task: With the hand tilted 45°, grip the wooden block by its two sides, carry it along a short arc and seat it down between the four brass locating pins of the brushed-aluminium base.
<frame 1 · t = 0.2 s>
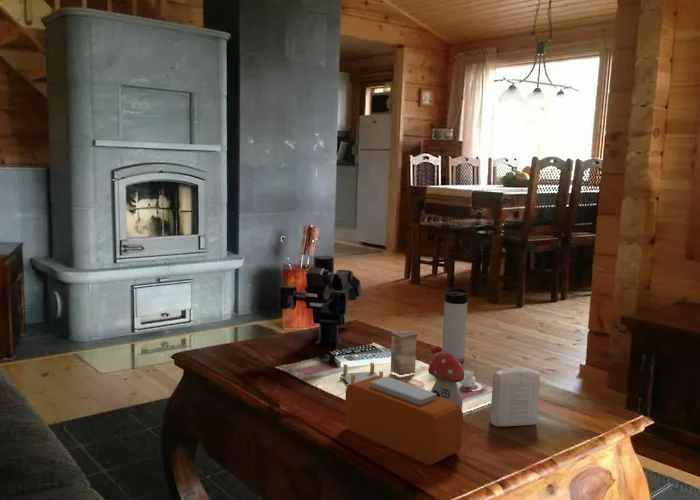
hand: (304, 307, 174), 17 cm above the table, tool horizontal, fingers open, 9 cm apart
decorative ornament: (443, 415, 147), on the table
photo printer: (513, 424, 144), on the table
travel mug: (453, 359, 188), on the table
teacup and saucer: (477, 388, 167), on the table
pin base: (362, 381, 168), on the table
alarm clock: (400, 442, 133), on the table
wooden block: (402, 374, 174), on the table
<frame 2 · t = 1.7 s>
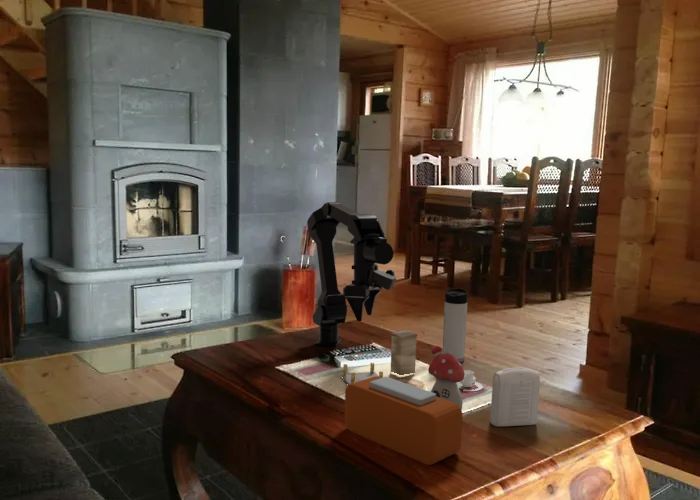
hand: (364, 318, 181), 13 cm above the table, tool pointing down, fingers open, 9 cm apart
nothing on the table moved.
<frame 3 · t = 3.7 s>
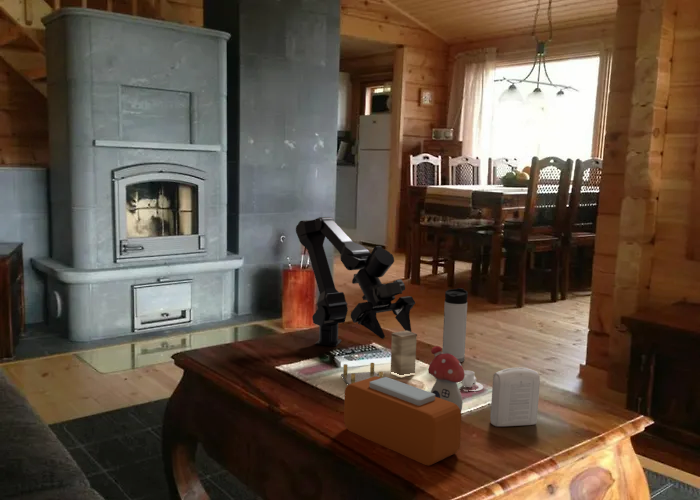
hand: (397, 335, 175), 10 cm above the table, tool tilted 45°, fingers open, 9 cm apart
nothing on the table moved.
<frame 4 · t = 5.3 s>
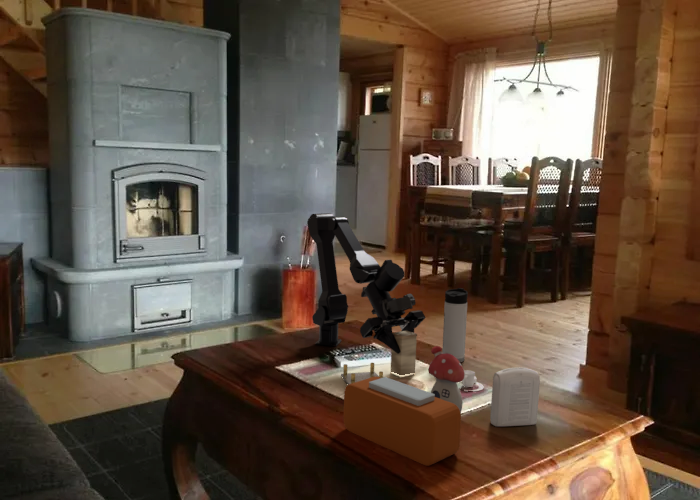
hand: (407, 351, 172), 7 cm above the table, tool tilted 45°, fingers closed on wooden block, 5 cm apart
wooden block: (402, 374, 174), on the table, touching gripper
everything else where it was.
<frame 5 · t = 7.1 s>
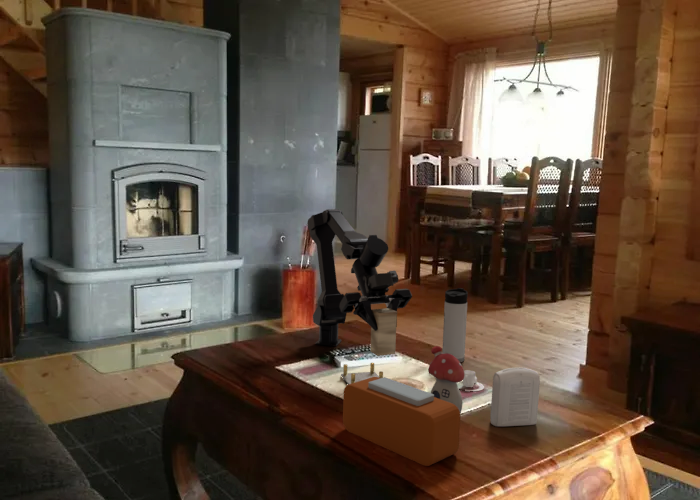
hand: (386, 328, 167), 13 cm above the table, tool tilted 45°, fingers closed on wooden block, 5 cm apart
wooden block: (382, 352, 169), point 7 cm above the table, touching gripper
everything else where it was.
when the fingers open (8 cm above the table, at t = 9.1 s): wooden block stays where it is, resting on pin base.
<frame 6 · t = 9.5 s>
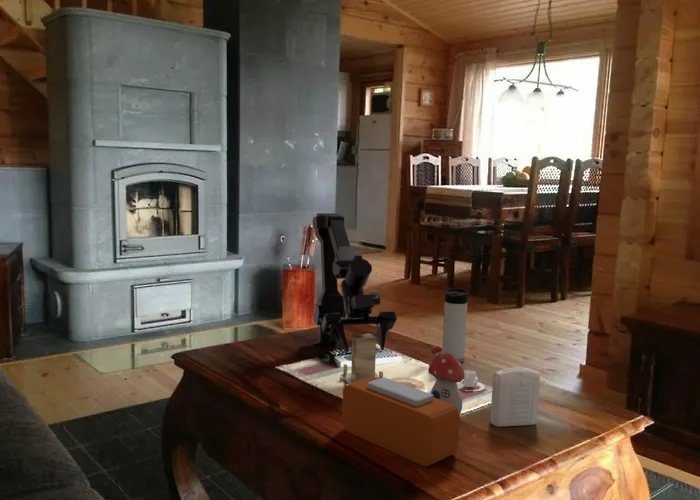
hand: (365, 351, 165), 8 cm above the table, tool tilted 45°, fingers open, 9 cm apart
wooden block: (362, 378, 168), point 1 cm above the table, touching pin base
everything else where it was.
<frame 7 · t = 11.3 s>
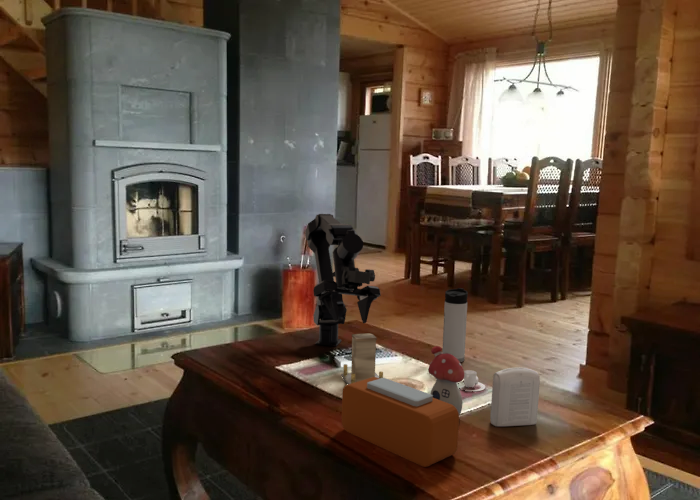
hand: (351, 321, 177), 13 cm above the table, tool tilted 30°, fingers open, 9 cm apart
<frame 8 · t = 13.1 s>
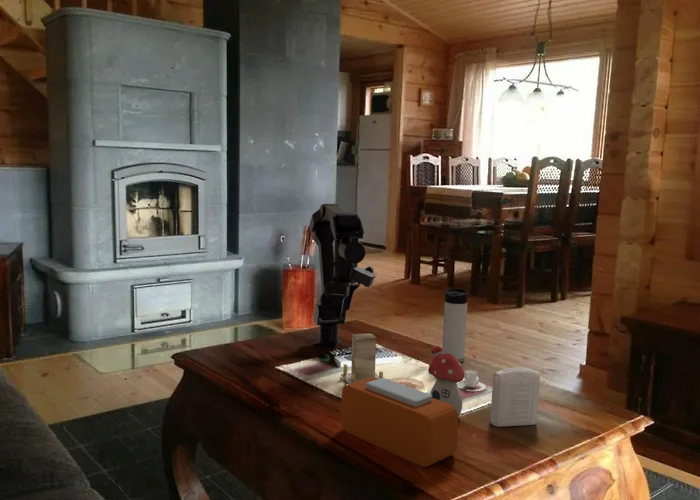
hand: (343, 313, 184), 13 cm above the table, tool pointing down, fingers open, 9 cm apart
at the end: wooden block 0.0 cm off-centre on the pin base, point 0.8 cm above the pin base's base; wooden block tilted 0°; the gripper is holding nothing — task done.
